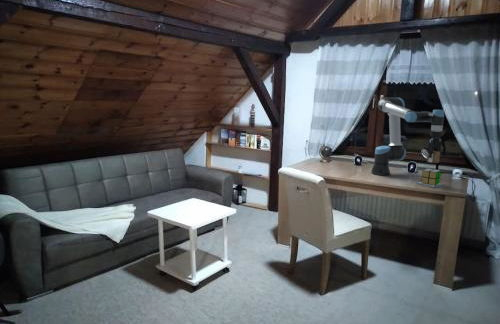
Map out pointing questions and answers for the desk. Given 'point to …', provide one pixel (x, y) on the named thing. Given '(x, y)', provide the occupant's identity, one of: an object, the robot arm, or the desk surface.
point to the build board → (430, 185)
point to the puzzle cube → (430, 176)
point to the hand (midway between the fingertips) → (433, 161)
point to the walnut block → (434, 157)
